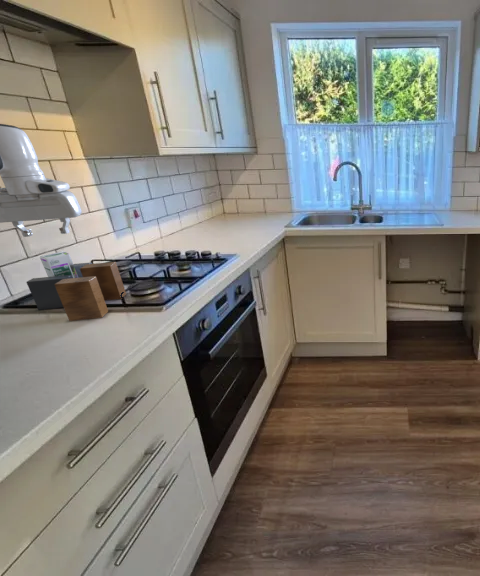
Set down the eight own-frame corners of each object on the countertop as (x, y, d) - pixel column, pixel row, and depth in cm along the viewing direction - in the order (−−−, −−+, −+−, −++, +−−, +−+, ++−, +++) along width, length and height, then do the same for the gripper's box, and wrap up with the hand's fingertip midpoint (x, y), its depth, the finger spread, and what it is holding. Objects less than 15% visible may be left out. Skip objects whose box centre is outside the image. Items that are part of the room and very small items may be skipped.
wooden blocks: (69, 321, 99) (54, 284, 95) (98, 296, 115) (86, 264, 110) (102, 317, 101) (88, 281, 97) (126, 294, 116) (115, 261, 112)
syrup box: (64, 303, 111) (45, 258, 105) (56, 299, 114) (38, 255, 108) (86, 296, 115) (69, 253, 109) (78, 293, 118) (62, 250, 112)
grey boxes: (38, 310, 106) (26, 281, 103) (66, 290, 120) (56, 265, 116) (77, 306, 109) (66, 278, 105) (100, 287, 122) (91, 262, 119)
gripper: (-27, 190, 96) (-3, 240, 101) (62, 185, 100) (80, 234, 106) (-9, 187, 102) (12, 235, 107) (74, 183, 106) (91, 229, 111)
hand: (47, 234), depth 106 cm, fingers open, 8 cm apart
